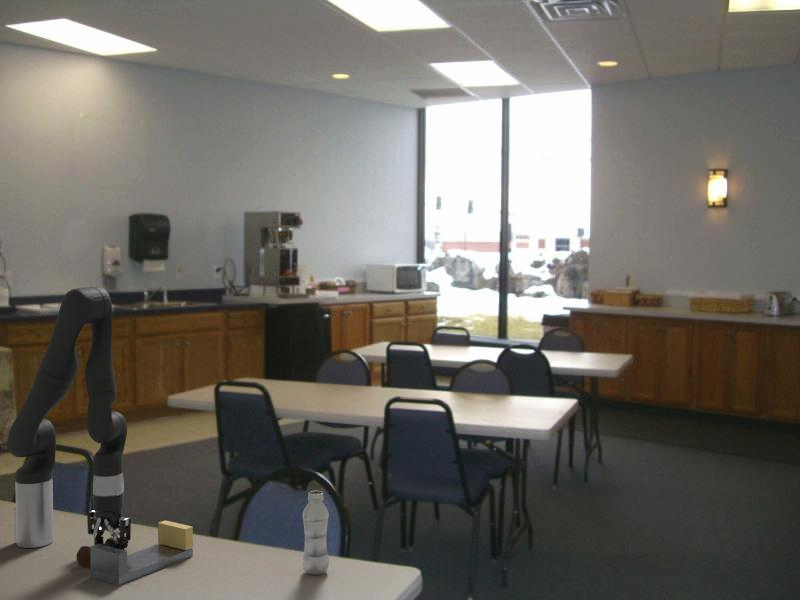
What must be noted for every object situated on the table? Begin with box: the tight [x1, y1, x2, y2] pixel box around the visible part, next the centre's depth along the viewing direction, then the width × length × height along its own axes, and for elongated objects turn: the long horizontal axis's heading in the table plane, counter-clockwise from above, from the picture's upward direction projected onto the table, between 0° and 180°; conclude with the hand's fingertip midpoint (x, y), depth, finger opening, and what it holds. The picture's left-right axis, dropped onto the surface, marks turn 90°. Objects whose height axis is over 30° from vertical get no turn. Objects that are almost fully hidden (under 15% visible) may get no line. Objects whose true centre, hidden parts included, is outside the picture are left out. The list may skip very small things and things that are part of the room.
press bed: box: [89, 543, 194, 586], centre depth 218 cm, size 10×24×8 cm, turn 148°
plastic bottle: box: [302, 490, 330, 576], centre depth 214 cm, size 6×7×20 cm
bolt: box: [76, 536, 129, 569], centre depth 224 cm, size 6×5×15 cm
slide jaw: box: [157, 520, 194, 550], centre depth 228 cm, size 10×2×6 cm, turn 58°
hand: (109, 554), depth 224 cm, fingers open, 7 cm apart
